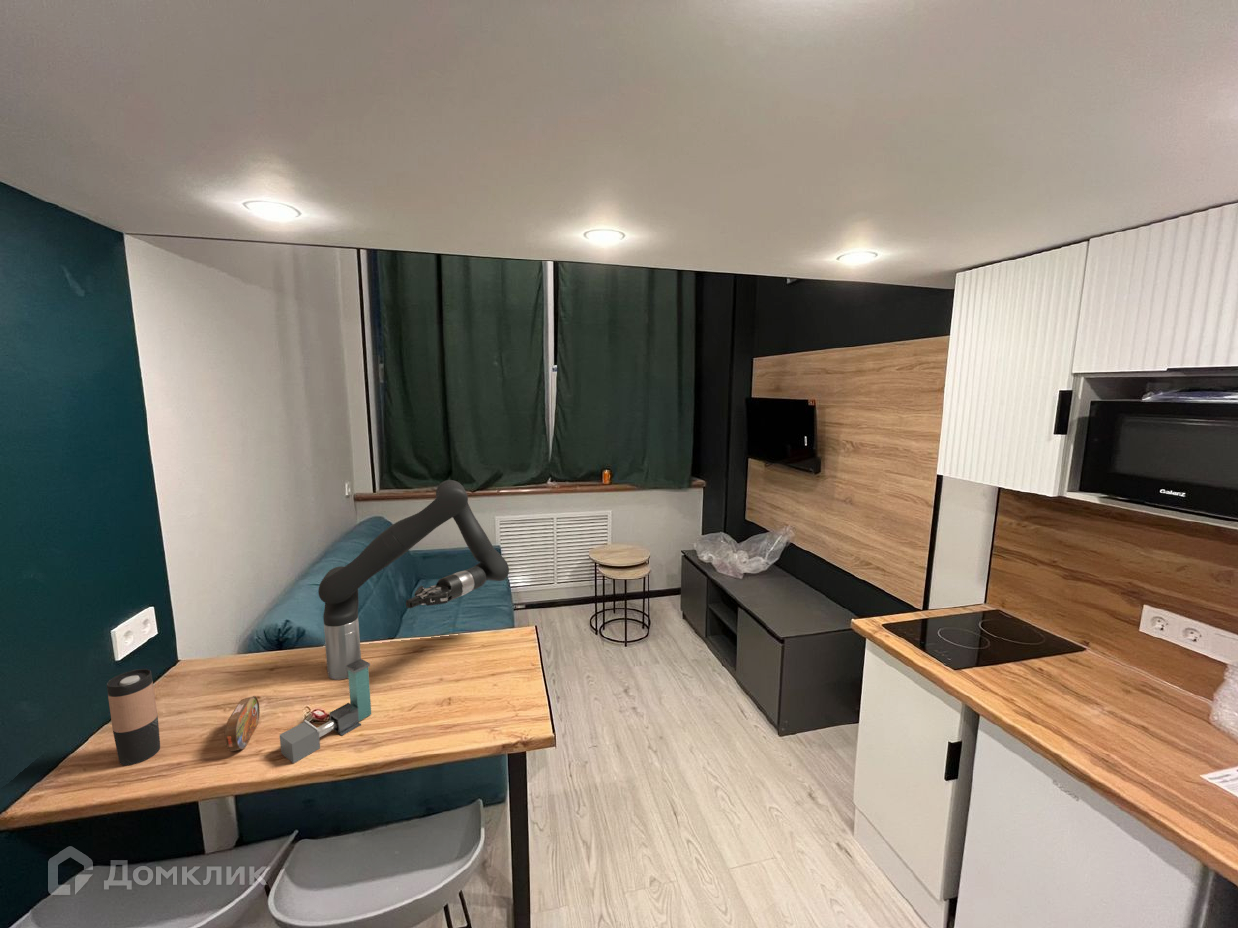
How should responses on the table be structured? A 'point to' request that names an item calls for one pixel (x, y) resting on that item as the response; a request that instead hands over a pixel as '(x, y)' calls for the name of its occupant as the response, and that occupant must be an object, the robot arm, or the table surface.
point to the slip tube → (354, 693)
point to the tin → (242, 723)
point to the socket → (299, 741)
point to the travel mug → (134, 716)
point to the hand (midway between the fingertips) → (407, 604)
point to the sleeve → (345, 718)
